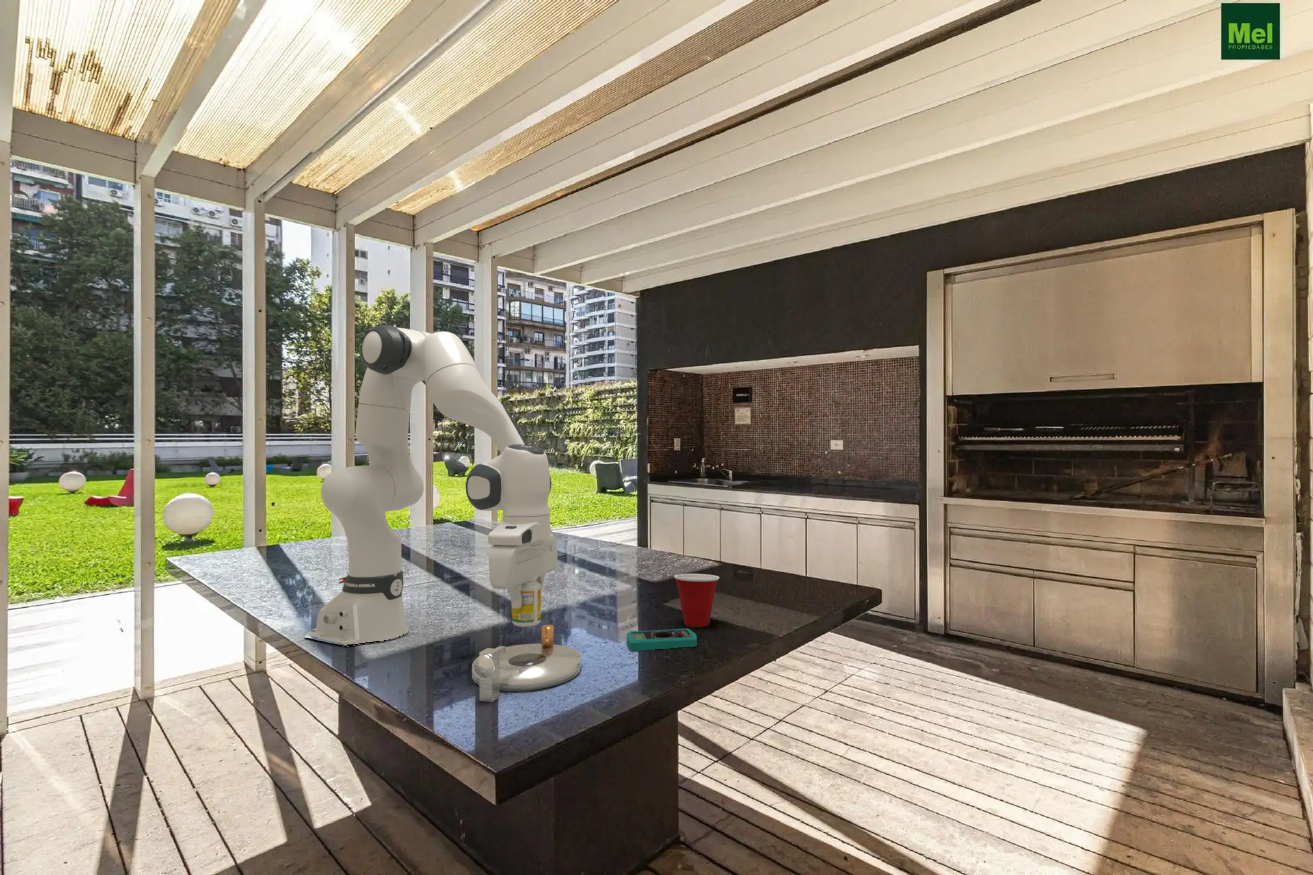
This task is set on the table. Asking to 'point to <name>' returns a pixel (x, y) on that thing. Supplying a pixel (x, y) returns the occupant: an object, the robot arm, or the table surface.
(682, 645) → the digital multimeter
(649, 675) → the table surface
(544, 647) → the turntable
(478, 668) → the stand
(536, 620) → the supplement bottle
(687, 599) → the plastic cup
